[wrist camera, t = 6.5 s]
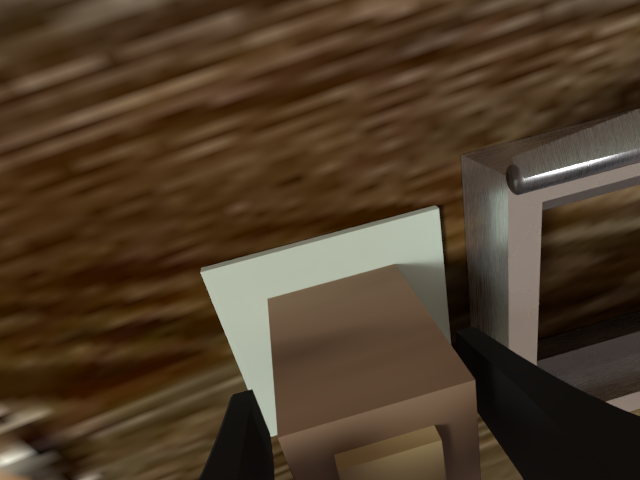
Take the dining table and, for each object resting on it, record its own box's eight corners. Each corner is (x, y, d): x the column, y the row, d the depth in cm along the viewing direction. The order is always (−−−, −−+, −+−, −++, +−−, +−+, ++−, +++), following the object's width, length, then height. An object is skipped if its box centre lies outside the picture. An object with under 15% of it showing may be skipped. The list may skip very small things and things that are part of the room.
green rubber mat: (451, 377, 17) (454, 382, 17) (267, 431, 17) (267, 437, 16) (435, 205, 13) (439, 208, 13) (201, 267, 13) (200, 272, 13)
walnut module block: (409, 360, 16) (490, 515, 10) (298, 392, 16) (323, 566, 10) (394, 263, 14) (484, 393, 8) (267, 298, 14) (279, 454, 8)
